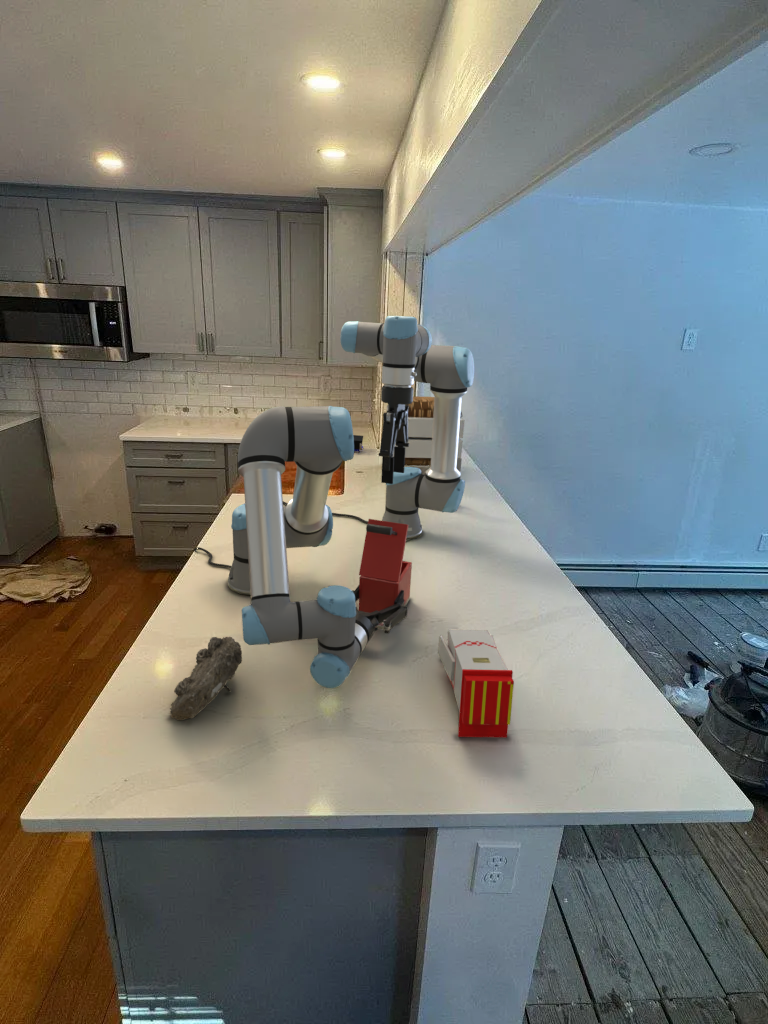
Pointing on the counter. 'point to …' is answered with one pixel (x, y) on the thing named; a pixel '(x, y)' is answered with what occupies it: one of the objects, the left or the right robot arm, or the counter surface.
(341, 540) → the counter surface
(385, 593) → the chest
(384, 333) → the right robot arm
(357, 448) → the figurine character
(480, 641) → the toy
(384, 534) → the lid
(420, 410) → the white boxy piece
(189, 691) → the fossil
